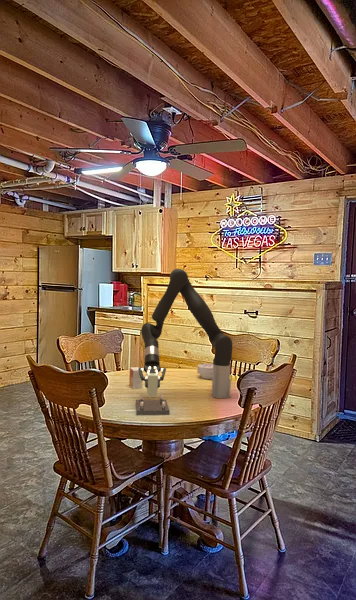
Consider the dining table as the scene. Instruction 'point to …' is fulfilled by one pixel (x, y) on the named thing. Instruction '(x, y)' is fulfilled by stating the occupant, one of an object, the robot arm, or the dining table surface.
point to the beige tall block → (152, 384)
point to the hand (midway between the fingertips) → (152, 387)
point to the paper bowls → (205, 371)
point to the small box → (135, 378)
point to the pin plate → (152, 406)
